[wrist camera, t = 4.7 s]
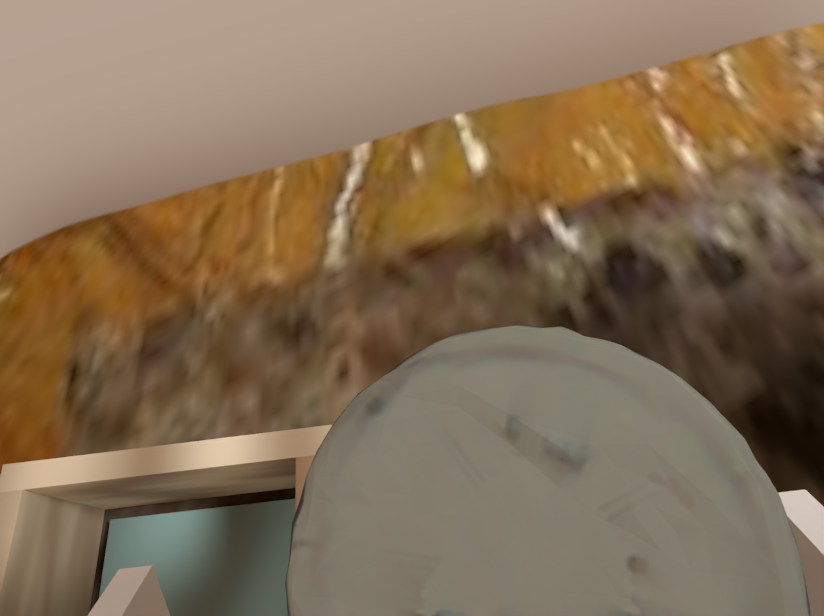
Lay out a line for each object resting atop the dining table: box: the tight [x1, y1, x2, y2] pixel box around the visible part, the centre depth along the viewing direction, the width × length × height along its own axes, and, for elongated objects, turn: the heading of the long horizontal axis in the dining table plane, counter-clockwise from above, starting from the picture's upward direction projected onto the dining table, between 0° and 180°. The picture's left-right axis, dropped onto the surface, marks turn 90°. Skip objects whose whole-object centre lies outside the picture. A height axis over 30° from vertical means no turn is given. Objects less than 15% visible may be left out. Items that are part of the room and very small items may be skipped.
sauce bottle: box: [285, 325, 811, 616], centre depth 13 cm, size 7×6×20 cm
